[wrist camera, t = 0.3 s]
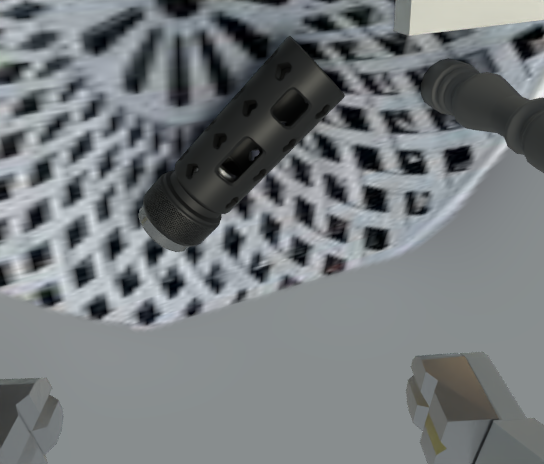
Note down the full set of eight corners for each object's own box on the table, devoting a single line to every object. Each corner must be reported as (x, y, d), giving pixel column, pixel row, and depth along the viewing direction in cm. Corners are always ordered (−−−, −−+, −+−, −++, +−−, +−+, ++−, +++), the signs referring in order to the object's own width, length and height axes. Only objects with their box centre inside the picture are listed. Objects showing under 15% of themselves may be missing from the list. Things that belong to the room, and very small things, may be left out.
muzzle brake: (335, 85, 53) (356, 106, 44) (195, 228, 62) (189, 268, 53) (282, 28, 49) (293, 38, 40) (141, 189, 58) (125, 226, 49)
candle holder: (416, 109, 55) (534, 188, 34) (425, 59, 52) (560, 112, 31) (461, 107, 56) (605, 185, 34) (472, 58, 52) (638, 110, 31)
